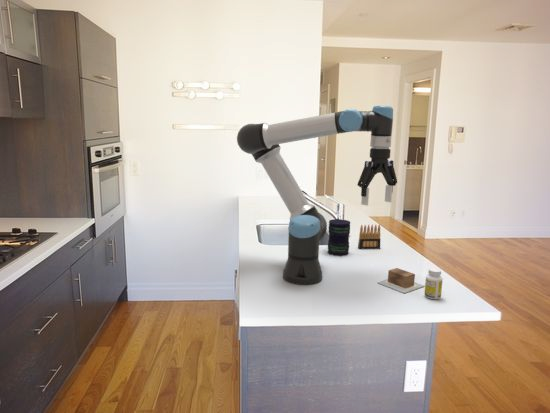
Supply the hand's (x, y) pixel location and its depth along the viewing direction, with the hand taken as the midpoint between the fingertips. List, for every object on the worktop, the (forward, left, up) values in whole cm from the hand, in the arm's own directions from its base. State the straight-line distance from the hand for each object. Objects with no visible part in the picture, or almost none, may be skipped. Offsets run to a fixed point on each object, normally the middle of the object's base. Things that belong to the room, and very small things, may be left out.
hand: (376, 203), depth 160 cm
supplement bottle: (0, -27, -29) cm, 40 cm away
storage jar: (+9, +28, -29) cm, 41 cm away
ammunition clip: (+27, +25, -29) cm, 47 cm away
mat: (0, -14, -29) cm, 32 cm away
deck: (0, -14, -28) cm, 31 cm away
